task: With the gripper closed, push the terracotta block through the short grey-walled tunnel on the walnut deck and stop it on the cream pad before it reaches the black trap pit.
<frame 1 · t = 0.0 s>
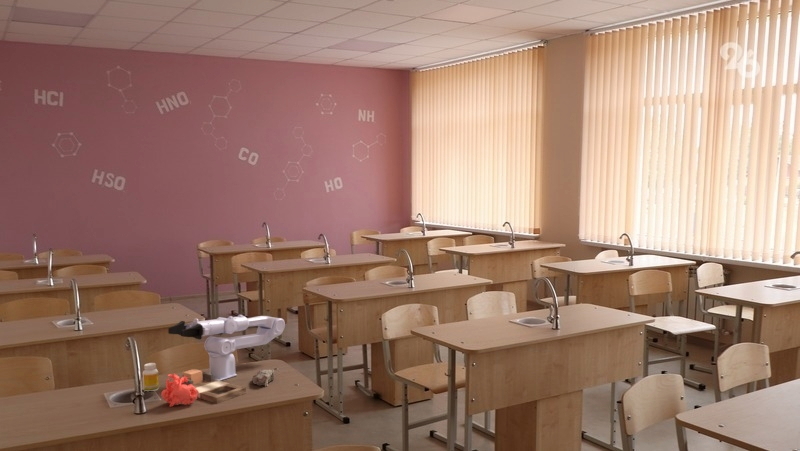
hand: (175, 332, 246), 22 cm above the table, tool horizontal, fingers open, 7 cm apart
mineral rock: (263, 382, 258), on the table
tunnel deck: (206, 391, 247), on the table
anatomical heart: (180, 405, 233), on the table
terracotta block: (192, 382, 252), point 2 cm above the table, touching tunnel deck
supplement bottle: (151, 390, 249), on the table
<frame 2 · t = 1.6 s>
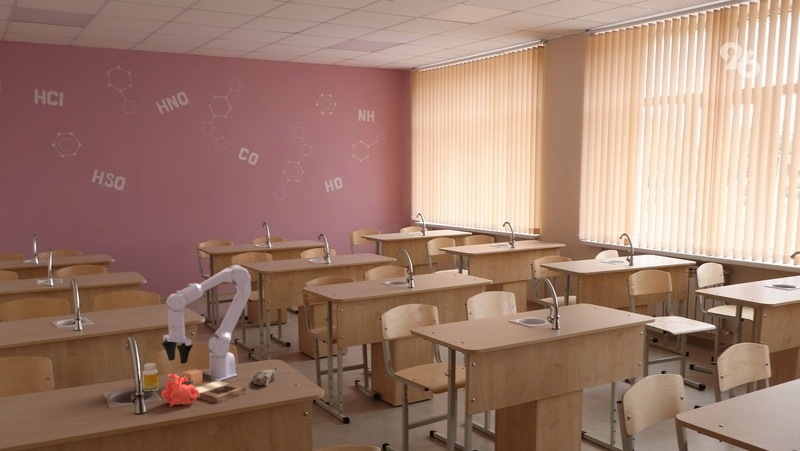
hand: (177, 361, 256), 8 cm above the table, tool pointing down, fingers open, 7 cm apart
nothing on the table moved.
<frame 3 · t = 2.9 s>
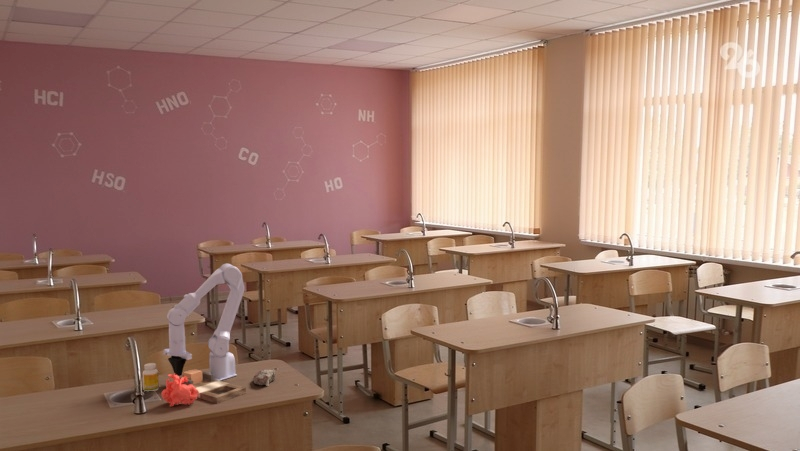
hand: (178, 375, 256), 3 cm above the table, tool pointing down, fingers closed
nothing on the table moved.
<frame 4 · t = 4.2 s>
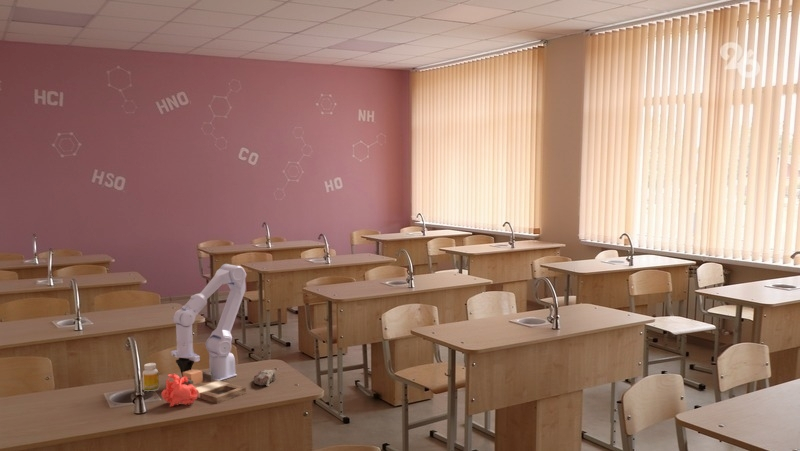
hand: (186, 377, 254), 3 cm above the table, tool pointing down, fingers closed
terracotta block: (192, 382, 252), point 2 cm above the table, touching gripper
everything else where it was.
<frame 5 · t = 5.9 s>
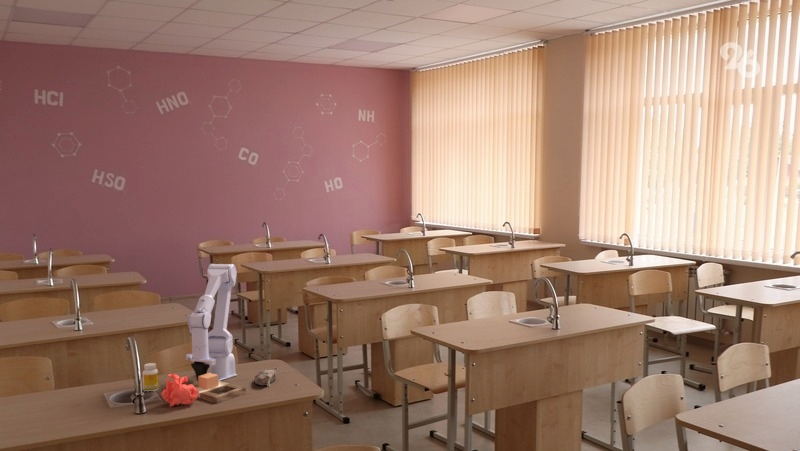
hand: (201, 381, 248), 3 cm above the table, tool pointing down, fingers closed
terracotta block: (208, 386, 246), point 2 cm above the table, touching gripper, tunnel deck
everything else where it was.
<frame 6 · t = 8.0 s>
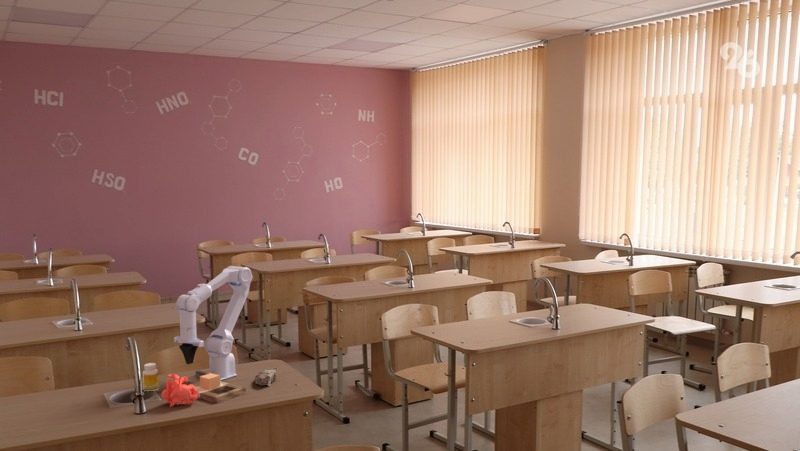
hand: (189, 363, 252), 9 cm above the table, tool pointing down, fingers closed
terracotta block: (210, 386, 246), point 2 cm above the table, touching tunnel deck
everything else where it was.
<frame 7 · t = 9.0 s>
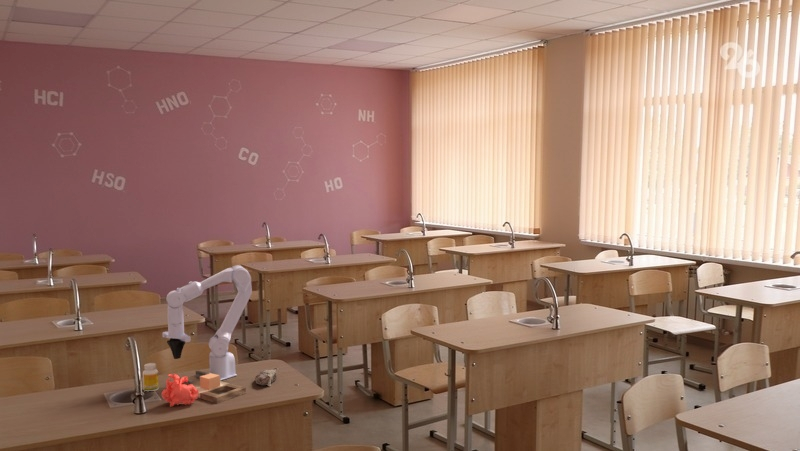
hand: (177, 358, 257), 9 cm above the table, tool pointing down, fingers closed
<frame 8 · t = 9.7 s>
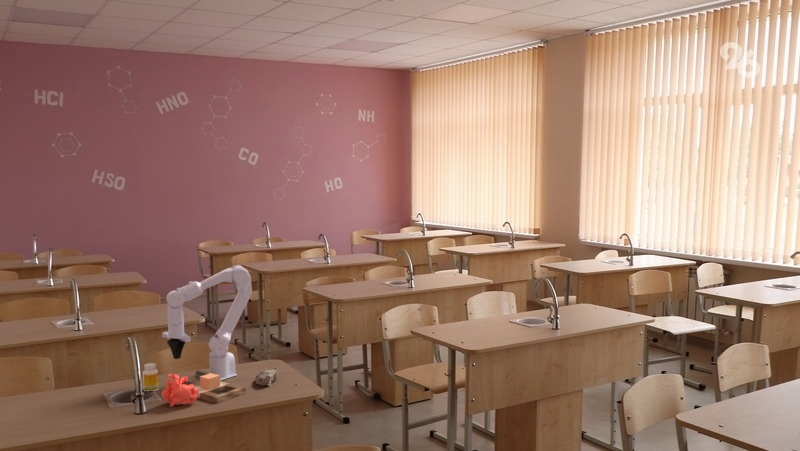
hand: (177, 358, 257), 9 cm above the table, tool pointing down, fingers closed
at the end: terracotta block 0.1 cm from the target spot, point 2.0 cm above the table; terracotta block tilted 0°; terracotta block moved 9.9 cm from its start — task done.
